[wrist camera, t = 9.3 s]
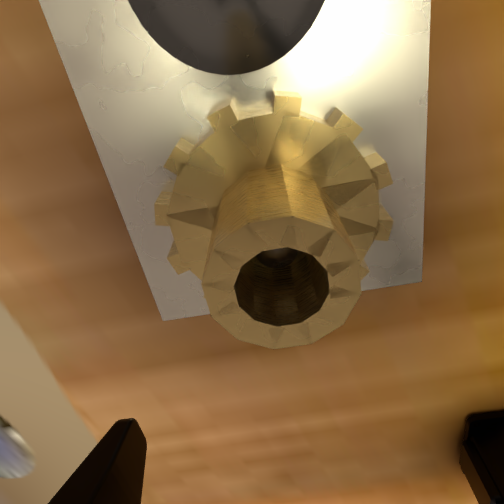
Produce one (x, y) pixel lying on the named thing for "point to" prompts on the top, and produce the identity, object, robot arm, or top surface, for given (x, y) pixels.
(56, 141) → the top surface
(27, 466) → the top surface
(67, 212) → the top surface
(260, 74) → the carrier plate
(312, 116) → the gear
